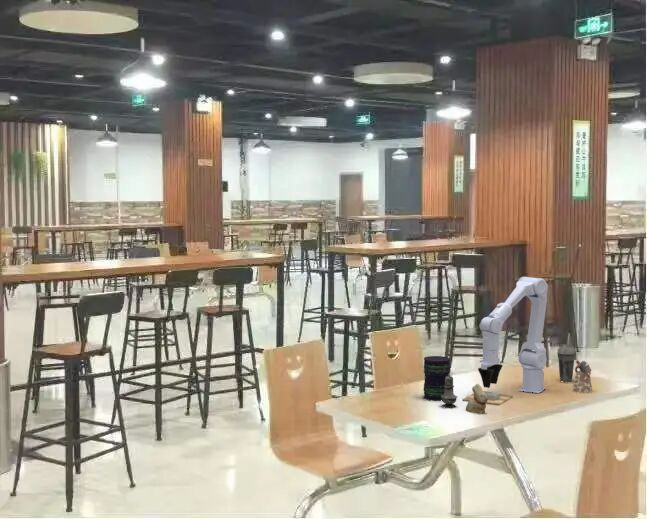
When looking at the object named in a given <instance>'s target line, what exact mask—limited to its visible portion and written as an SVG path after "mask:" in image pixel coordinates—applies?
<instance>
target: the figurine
mask: <svg viewBox="0 0 647 519" xmlns="http://www.w3.org/2000/svg"><path fill="white" fill-rule="evenodd" d="M575 363H576V366H575V368H574V370H575V371H574V372H575V375H574V378H573V385H572V391H573V390H574V391H575V393H577V392H579V393H578V394H591V393H593V387H592V386H593V385H592V380H591V374H592V373H591V372H592V371H593V370H592V369H591V367H590V364H589V363H588V362H587V361H585V360H582V361H580V360H578V359H577V360H575ZM578 369H579V370H578ZM574 391H573V392H574ZM590 392H591V393H590Z"/></svg>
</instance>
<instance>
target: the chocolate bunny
mask: <svg viewBox="0 0 647 519" xmlns="http://www.w3.org/2000/svg"><path fill="white" fill-rule="evenodd" d="M471 389H472V394H473V393H474V399H472V400H470V401H469V402H468V401H467V404H466V407H465V410H466V411H467V412H469V413H472V414H486V408H487V404H485V403H486V402H487V400H488V398H487V395H486V393H484V392H483V391H484V390H483V389H482V386H481V385H480V384H479V383H475V385H473V386H472V388H471Z"/></svg>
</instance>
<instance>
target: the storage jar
mask: <svg viewBox="0 0 647 519" xmlns="http://www.w3.org/2000/svg"><path fill="white" fill-rule="evenodd" d="M423 361H424V362H423V374H424V382H423V399H424V400H426V401H431V400H432V402H442V401H441V400H442V398H441V396H442V395H444V393H445V387H444V385H445V377H446V376H448V374H450V375H451V358H450V357H448V356H442V355H429V356H428V355H427V356H426V357H423Z"/></svg>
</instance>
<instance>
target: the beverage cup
mask: <svg viewBox="0 0 647 519" xmlns="http://www.w3.org/2000/svg"><path fill="white" fill-rule="evenodd" d="M567 336H568V337H567V343H562V344H561V345H560V346H558V347H559V348H558V349H557V359H558V369H559V370H558V372H559V379H560V381H563V382H573V376H574V375H573V374H574V369H575V368H574V365H575V359H576V355H577V354H576V350H575V348H574V346H573V345H572V344H570V337H571V333H570V332H569V333H568V335H567Z"/></svg>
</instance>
